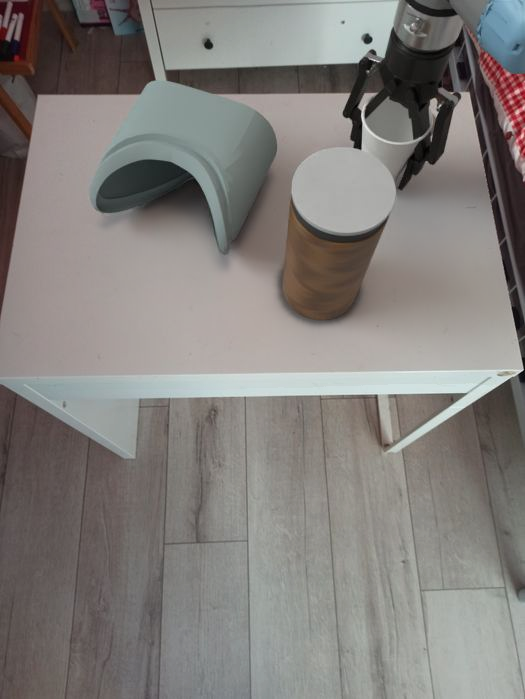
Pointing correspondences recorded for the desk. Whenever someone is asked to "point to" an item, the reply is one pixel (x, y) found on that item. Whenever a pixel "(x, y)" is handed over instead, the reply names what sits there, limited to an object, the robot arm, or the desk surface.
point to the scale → (342, 194)
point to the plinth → (323, 270)
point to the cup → (390, 135)
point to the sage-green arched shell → (187, 155)
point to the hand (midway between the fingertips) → (379, 170)
